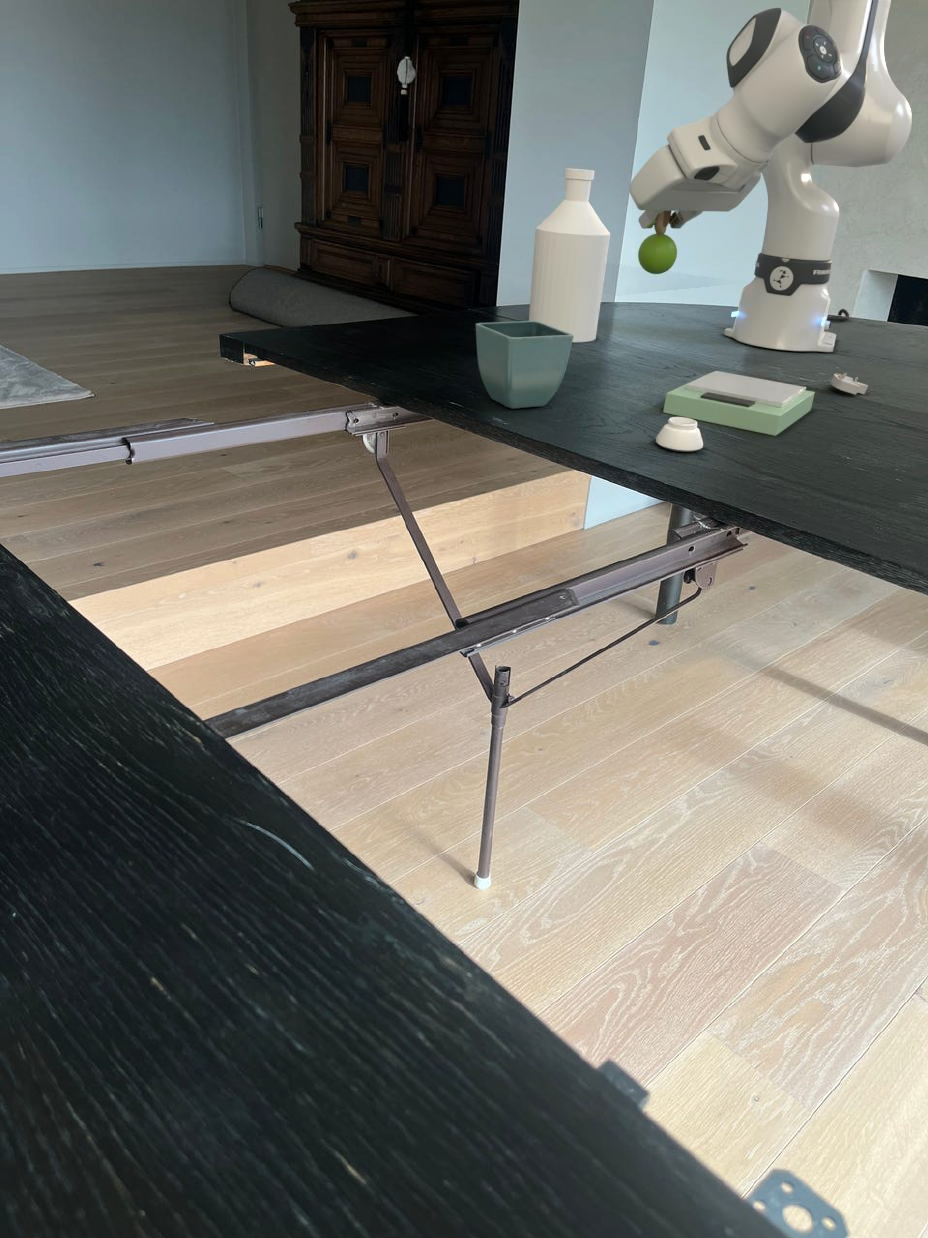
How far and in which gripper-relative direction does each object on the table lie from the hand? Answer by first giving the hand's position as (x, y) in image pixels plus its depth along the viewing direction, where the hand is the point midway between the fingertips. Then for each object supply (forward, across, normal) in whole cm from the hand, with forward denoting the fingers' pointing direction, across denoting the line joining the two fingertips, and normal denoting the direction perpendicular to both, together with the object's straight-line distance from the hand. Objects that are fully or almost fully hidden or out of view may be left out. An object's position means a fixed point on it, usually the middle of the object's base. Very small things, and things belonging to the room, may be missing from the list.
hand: (658, 224), depth 134 cm
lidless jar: (-9, +29, +37) cm, 48 cm away
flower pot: (+6, +33, +21) cm, 40 cm away
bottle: (+28, -3, -1) cm, 28 cm away
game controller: (-2, -14, +30) cm, 33 cm away
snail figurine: (+4, 0, +5) cm, 7 cm away
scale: (-4, +9, +32) cm, 33 cm away
